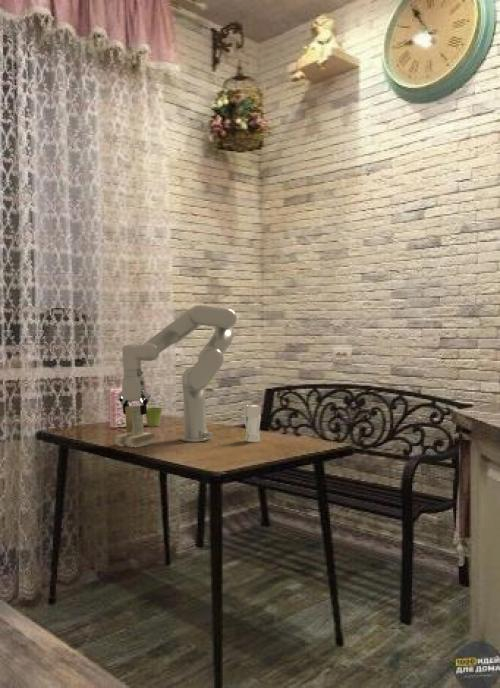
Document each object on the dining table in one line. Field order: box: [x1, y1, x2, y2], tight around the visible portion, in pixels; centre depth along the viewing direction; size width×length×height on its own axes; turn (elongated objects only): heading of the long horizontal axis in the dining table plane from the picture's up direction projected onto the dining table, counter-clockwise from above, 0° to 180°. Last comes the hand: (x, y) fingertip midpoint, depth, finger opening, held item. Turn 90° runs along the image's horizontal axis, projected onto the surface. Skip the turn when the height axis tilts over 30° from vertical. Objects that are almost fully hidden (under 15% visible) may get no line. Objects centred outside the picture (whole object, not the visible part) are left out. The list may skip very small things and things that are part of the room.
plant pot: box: [145, 406, 163, 427], centre depth 300 cm, size 9×9×9 cm
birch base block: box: [113, 432, 156, 449], centre depth 253 cm, size 12×12×4 cm
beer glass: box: [243, 404, 261, 443], centre depth 253 cm, size 7×7×15 cm
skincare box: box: [125, 404, 144, 436], centre depth 253 cm, size 6×4×12 cm
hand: (135, 414), depth 253 cm, fingers open, 9 cm apart
